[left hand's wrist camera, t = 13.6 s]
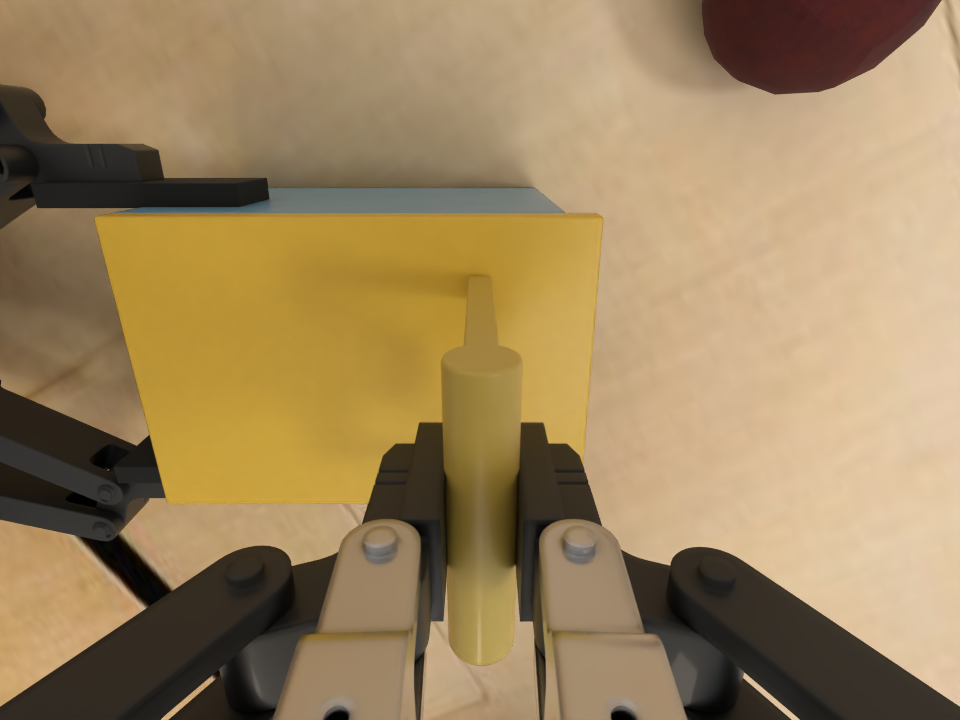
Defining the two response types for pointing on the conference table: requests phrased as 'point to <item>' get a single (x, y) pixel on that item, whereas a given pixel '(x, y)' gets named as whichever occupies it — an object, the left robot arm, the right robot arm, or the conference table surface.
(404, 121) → the conference table surface
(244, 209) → the chest
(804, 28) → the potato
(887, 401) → the conference table surface
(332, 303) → the lid
